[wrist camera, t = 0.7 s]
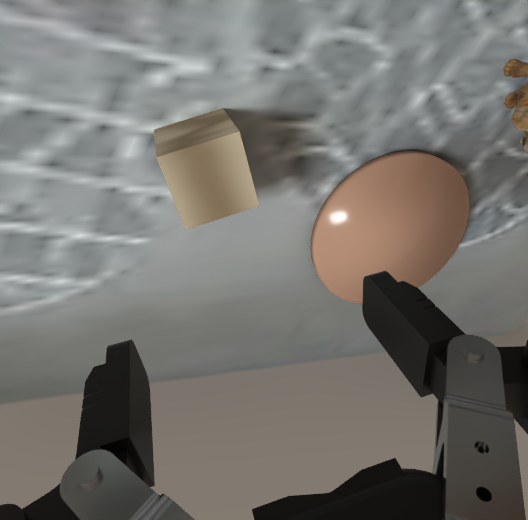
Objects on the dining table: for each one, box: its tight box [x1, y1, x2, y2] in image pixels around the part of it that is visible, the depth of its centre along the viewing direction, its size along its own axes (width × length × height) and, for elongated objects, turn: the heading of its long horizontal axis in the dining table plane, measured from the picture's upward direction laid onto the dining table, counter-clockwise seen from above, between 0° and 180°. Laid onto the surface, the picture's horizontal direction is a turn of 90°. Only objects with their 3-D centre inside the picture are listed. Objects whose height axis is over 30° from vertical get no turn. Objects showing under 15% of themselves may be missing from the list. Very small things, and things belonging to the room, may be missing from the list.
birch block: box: [154, 108, 259, 230], centre depth 27 cm, size 5×5×6 cm
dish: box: [311, 151, 470, 303], centre depth 37 cm, size 15×15×2 cm
